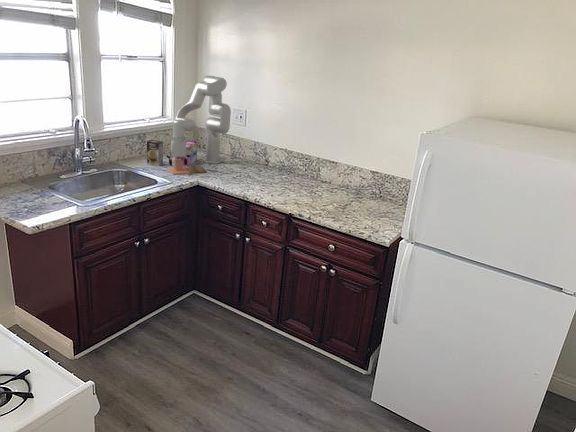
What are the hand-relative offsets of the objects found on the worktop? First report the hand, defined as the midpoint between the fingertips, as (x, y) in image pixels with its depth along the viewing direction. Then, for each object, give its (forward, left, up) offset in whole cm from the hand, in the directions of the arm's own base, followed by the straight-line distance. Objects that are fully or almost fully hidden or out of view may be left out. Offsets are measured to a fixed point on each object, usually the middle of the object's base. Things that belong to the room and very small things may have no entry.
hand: (178, 164), depth 305 cm
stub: (0, 0, -4) cm, 4 cm away
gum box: (-11, -19, -5) cm, 22 cm away
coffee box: (+10, -19, -5) cm, 22 cm away
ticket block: (-12, 0, -5) cm, 13 cm away
